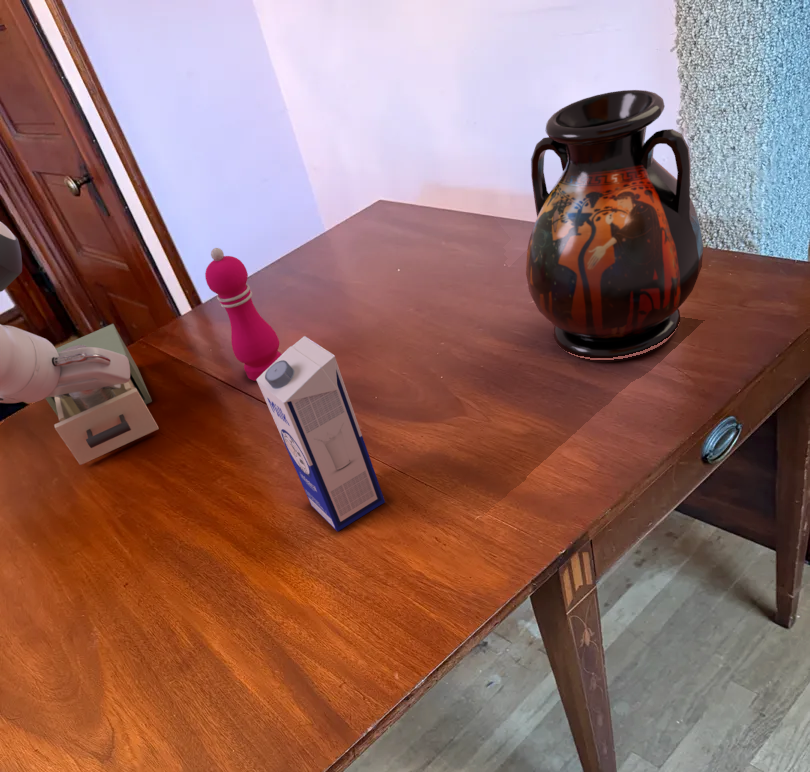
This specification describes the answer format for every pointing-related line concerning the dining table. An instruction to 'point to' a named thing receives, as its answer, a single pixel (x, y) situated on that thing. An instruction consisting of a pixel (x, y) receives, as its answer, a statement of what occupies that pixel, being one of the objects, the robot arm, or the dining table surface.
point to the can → (90, 393)
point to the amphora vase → (612, 228)
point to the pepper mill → (242, 314)
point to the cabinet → (112, 342)
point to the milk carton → (321, 433)
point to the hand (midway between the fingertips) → (91, 388)
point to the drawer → (104, 423)
